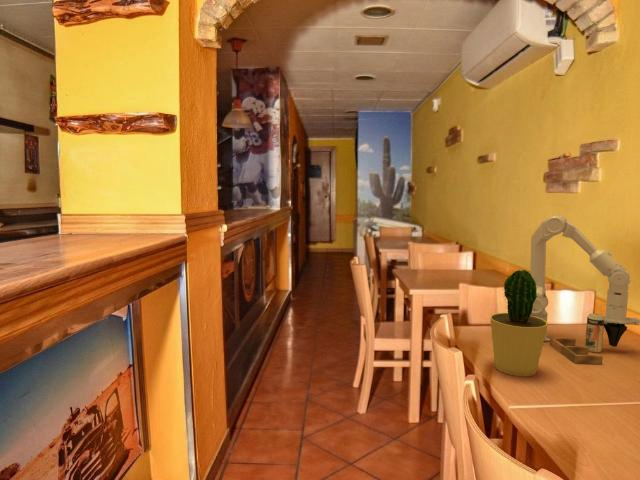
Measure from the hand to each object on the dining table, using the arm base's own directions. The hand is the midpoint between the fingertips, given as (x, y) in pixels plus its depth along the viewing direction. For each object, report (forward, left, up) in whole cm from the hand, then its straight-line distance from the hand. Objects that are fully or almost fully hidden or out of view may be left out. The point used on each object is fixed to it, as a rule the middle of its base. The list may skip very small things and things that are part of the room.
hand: (613, 345), depth 152 cm
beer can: (-6, 0, -2) cm, 7 cm away
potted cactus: (-38, -18, -2) cm, 42 cm away
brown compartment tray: (-14, -4, -2) cm, 15 cm away
